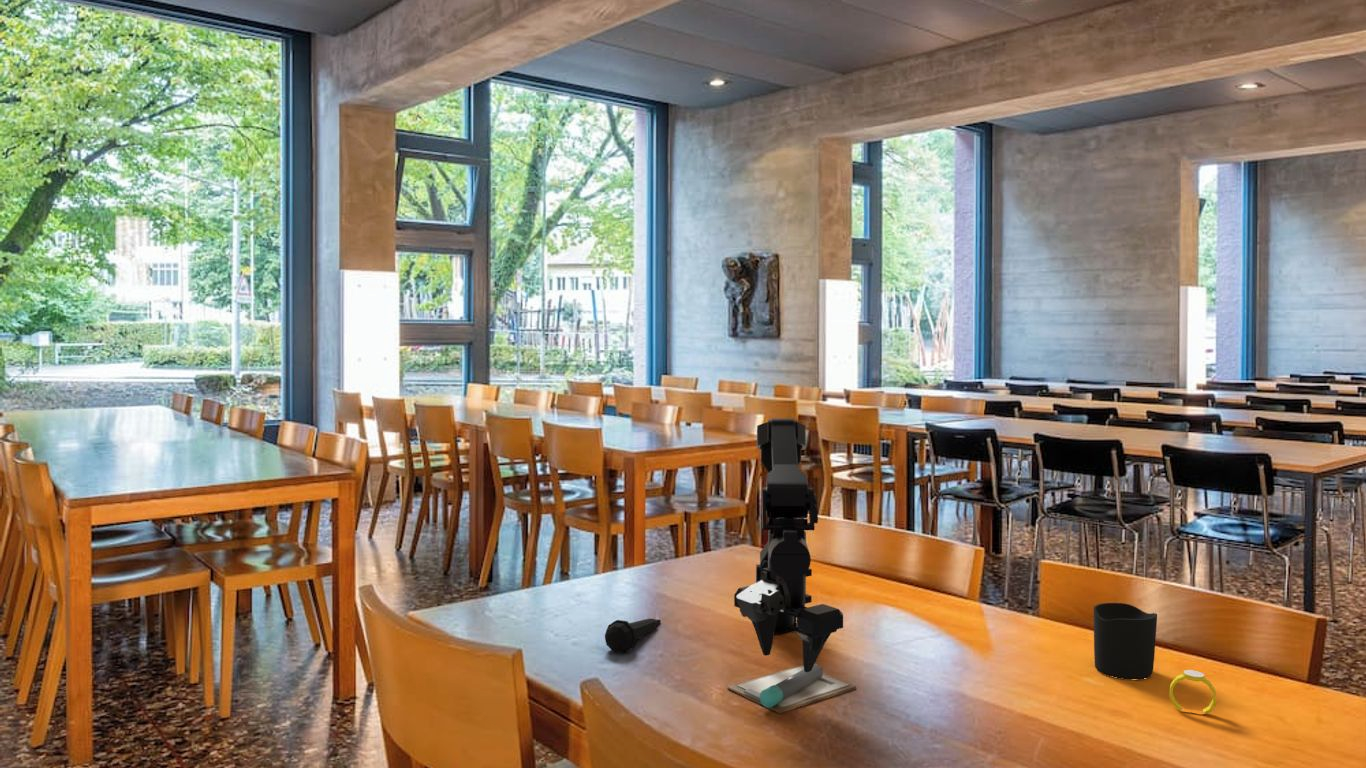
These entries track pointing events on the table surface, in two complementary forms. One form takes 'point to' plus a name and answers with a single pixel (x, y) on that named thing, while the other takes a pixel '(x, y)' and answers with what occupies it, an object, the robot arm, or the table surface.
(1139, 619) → the pen holder
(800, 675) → the marker
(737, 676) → the table surface
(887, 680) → the table surface
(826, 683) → the clipboard
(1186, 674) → the watch
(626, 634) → the microphone
